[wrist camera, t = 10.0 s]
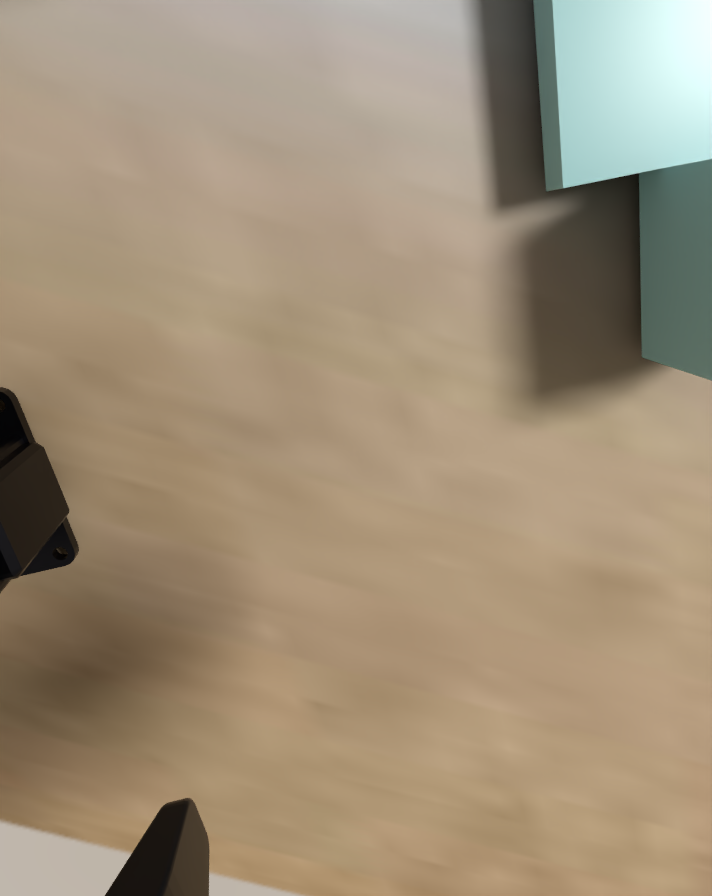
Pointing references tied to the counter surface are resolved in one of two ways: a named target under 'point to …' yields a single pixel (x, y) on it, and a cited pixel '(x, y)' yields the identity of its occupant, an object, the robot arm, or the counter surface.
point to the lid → (640, 145)
